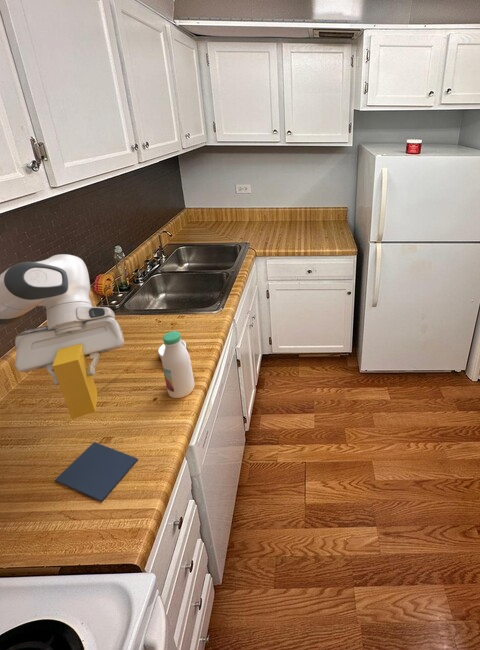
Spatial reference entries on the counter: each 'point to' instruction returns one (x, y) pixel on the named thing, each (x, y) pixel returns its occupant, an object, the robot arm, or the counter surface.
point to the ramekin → (162, 348)
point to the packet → (75, 381)
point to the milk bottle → (177, 366)
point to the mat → (97, 471)
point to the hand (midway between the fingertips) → (75, 379)
